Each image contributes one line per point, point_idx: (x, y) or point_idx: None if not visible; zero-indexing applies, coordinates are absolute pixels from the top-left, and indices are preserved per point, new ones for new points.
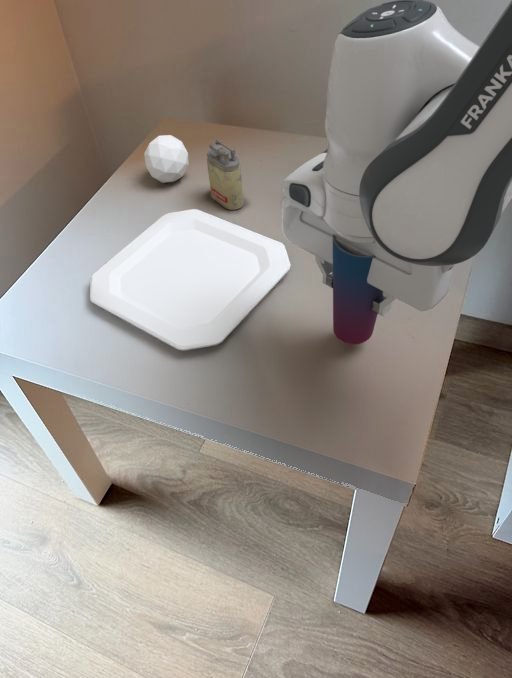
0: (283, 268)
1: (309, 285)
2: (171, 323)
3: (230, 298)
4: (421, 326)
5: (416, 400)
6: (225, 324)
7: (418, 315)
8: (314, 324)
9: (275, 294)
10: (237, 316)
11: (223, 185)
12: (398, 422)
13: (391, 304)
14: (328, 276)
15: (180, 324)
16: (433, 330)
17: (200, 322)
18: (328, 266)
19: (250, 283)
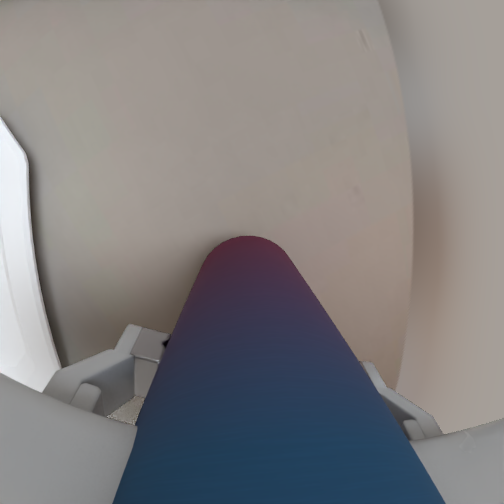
0: (17, 177)
1: (83, 154)
2: (3, 372)
3: (6, 292)
4: (362, 152)
5: (391, 319)
6: (44, 359)
7: (346, 122)
8: (151, 254)
9: (46, 219)
10: (42, 339)
11: None
12: (373, 361)
13: (376, 370)
14: (140, 395)
15: (9, 365)
16: (385, 153)
17: (19, 354)
18: (115, 393)
19: (2, 246)
